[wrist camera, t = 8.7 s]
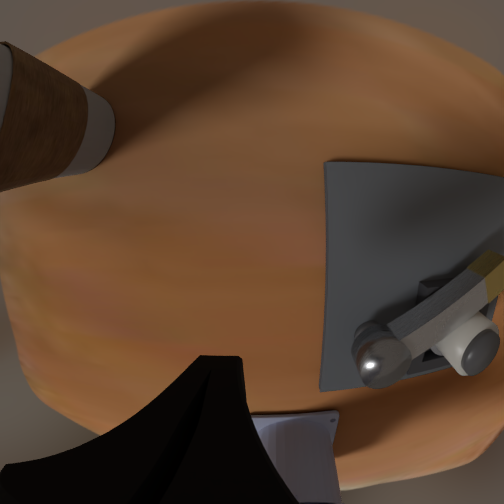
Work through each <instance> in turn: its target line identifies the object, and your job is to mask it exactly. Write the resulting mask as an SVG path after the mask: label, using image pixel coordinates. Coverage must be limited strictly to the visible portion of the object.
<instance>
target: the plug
mask: <svg viewBox="0 0 504 504" xmlns="http://www.w3.org/2000/svg"><path fill="white" fill-rule="evenodd" d="M499 344H500V337H499V330H498V327H497V325H496V324H494V323H493V322H492V321H491V320H489V319H488V318H487V317H485V316H484V315H483V314H482V313H480V312H479V311H478V312H477V313H476V314H475V315H473V316H472V317H471V318H470V319H468V320H467V321H466V322H465V323H463V324H462V325H461V326H460V327H458V328H457V329H456V330H454V331H453V332H452V333H450V334H449V335H448V336H446V337H445V338H444V339H442V340H441V341H439V342H438V343H437V344H435V345H434V346H432V347H431V348H430V349H431V350H432V351H433V352H434V353H435V354H437V355H441V356H444V357H445V358H446V359H447V360H448V361H449V363H450V364H451V365H452V366H453V367H454V369H455V370H456V371H457V372H458V373H459V374H460V375H462V376H467V375H469V376H474V375H477V374H479V373H480V372H482V371H483V370H484V369H485V368H486V367H487V366H488V365H489V364H490V363H491V361H492V360H493V359H494V357H495V355H496V353H497V351H498V348H499Z"/></svg>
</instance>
